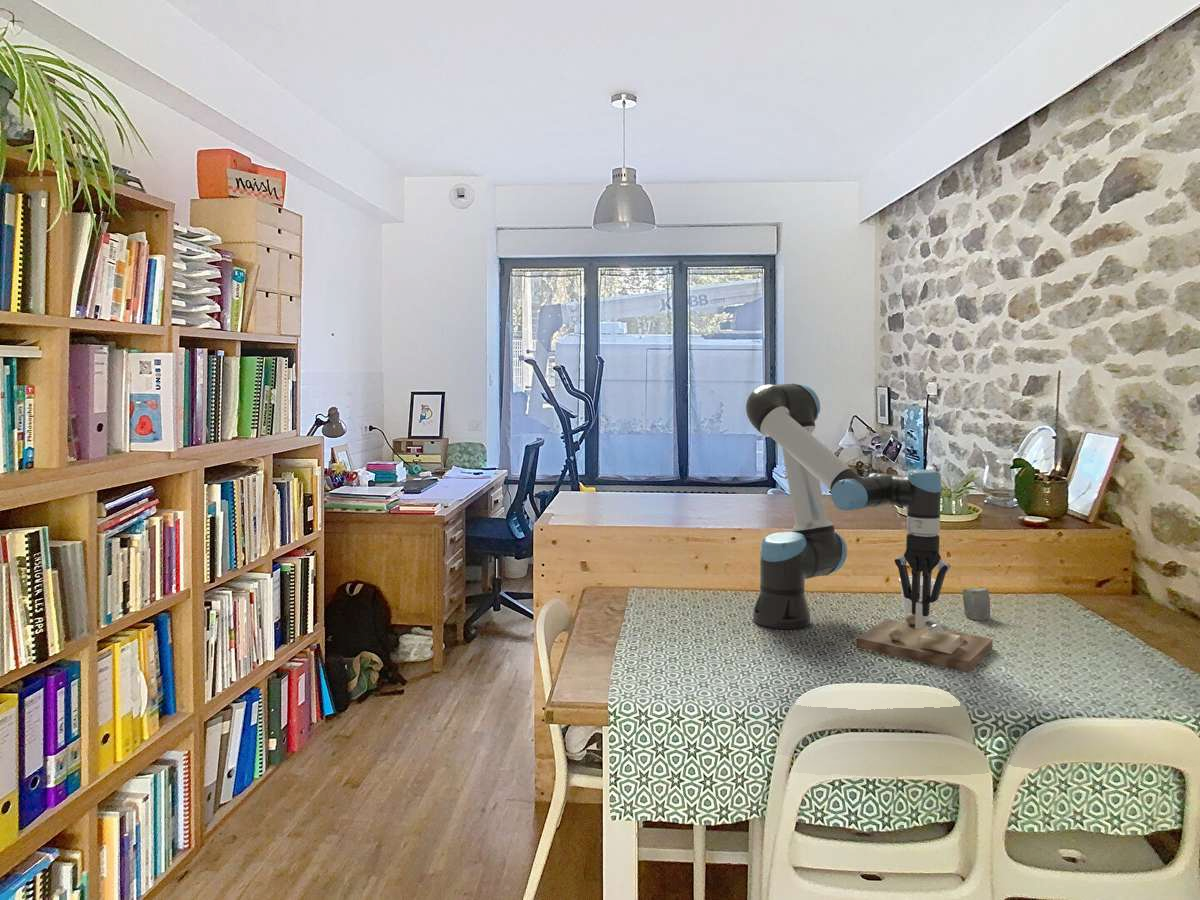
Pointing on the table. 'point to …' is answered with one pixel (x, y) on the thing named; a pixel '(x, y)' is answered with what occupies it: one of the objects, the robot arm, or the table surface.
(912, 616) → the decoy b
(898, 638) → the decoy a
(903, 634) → the board
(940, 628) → the steel ball
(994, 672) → the table surface
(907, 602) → the cup
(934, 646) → the cover
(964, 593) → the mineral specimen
